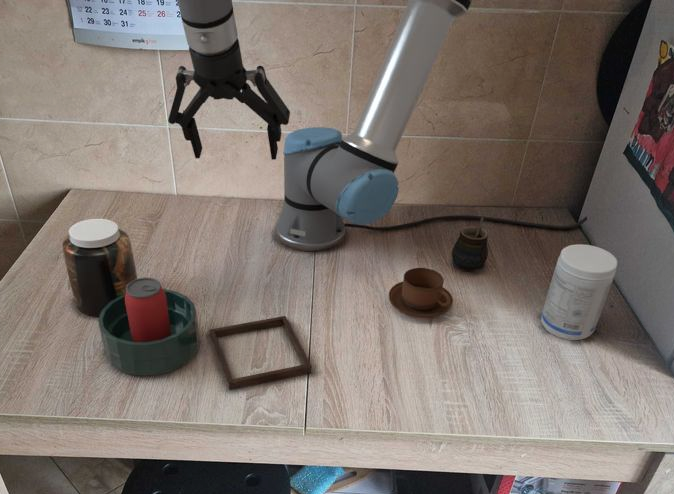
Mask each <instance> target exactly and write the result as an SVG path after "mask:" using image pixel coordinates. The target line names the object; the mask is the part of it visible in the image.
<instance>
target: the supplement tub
mask: <svg viewBox="0 0 674 494" xmlns="http://www.w3.org/2000/svg"><path fill="white" fill-rule="evenodd" d="M617 267H618V260H617V258H616V257H615V255H613V254H612V253H611V252H609V251H608V250H606V249H604V248H601V247H599V246H595V245H591V244H583V243H582V244H581V243H578V244H570V245H568V246H565V247H563V248H562V250H561V251H560V254H559V256H558V258H557V261H556V264H555V268H554V271H553V275H552V278H551V281H550V284H549V288H548V292H547V295H546V298H545V301H544V305H543V309H542V312H541V315H540V322H541V324H542V326H543V328H544V329H545V330H546V331H547V332H549V333H550V334H552V335H553V336H556V337H557V338H560V339H564V340H571V341H578V340H583V339H587V338H588V337H590V336H591V335H592V334H593V333H594V332H595V330H596V327H597V325H598V322H599V319H600V317H601V314H602V311H603V308H604V305H605V303H606V300H607V297H608V295H609V292H610V289H611V287H612V284H613V280H614V278H615V275H616V272H617Z"/></svg>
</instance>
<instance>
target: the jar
mask: <svg viewBox="0 0 674 494" xmlns="http://www.w3.org/2000/svg"><path fill="white" fill-rule="evenodd" d="M62 254H63V258H64V263H65V268H66V272H67V276H68V279H69V284H70V289H71V292H72V295H73V300H74V304H75V306H76V308H77V310H78V311H79V312H81V313H82V314H84V315H87V316H90V317H95V318H99V316H100V314H101V311H102V310H103V309H104V308H105V307H106V306H107V305H108V303H109V302H111V301H113V300H114V299H116V298H118V297H119V296H121V295H124V294H126V287H127V285H128V284H129V283H130V282H132V281H134V280H136V279H138V274H137V268H136V263H135V258H134V251H133V247H132V243H131V239H130V237H129V235H128V234H127V232H125V231H124V230H122V229H120V228H119V225H118V224H117V223H116V222H115V221H113V220H110V219H106V218H88V219H84V220H81V221H78V222H76V223H74V224H73V225H71V226H70V228H69V229H68V235H66V237H65V238H64V239H63V242H62Z"/></svg>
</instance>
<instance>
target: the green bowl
mask: <svg viewBox="0 0 674 494" xmlns="http://www.w3.org/2000/svg"><path fill="white" fill-rule="evenodd" d="M163 290H164V292H165V295H166V301H167V308H168V315H169V322H170V329H171V336H169V337H166V338H164V339H161V340H156V341H150V342H133V341H132V336H131V331H130V325H129V320H128V315H127V310H126V304H125V294H124V295H121V296H119V297H118V298H116V299H114V300H113V301H111V302H109V303H108V305H107V306H106V307H105V308H104V309H103V310H102V311H101V314H100V316H99V317H98V319H97V321H98V329H99V332H100V336H101V341H102V346H103V351H104V354H105V358H106V359H107V361H108V362H109V363H110V365H111V366H112V367H114V368H115V369H117V370H119V371H121V372H123V373H126V374H130V375H134V376H155V375H160V374H165V373H169V372H171V371H174V370H176V369H179V368H181V367H183V366H184V365H185V364H186V363H188V362H190V361H191V360H192V359H193V358H194V357H195V355H196V353H197V352H198V350H199V346H200V342H201V341H200V333H199V332H200V331H199V322H198V321H199V320H198V312H197V309H196V306H195V303H194V302H193V301H192V300H191V299H190V298H189V297H188V296H187V295H184V294H182V293H180V292H178V291H176V290H172V289H167V288H163Z"/></svg>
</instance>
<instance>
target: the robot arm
mask: <svg viewBox="0 0 674 494" xmlns="http://www.w3.org/2000/svg"><path fill="white" fill-rule="evenodd" d="M176 2H177V5H178V9H179V13H180V19H181V23H182V26H183V31H184V35H185V39H186V42H187V45H188V51H189V56H190V60H191V64H192V67H193V70H187V68H186V66H183V65H179V67H178V69H177V72H176V75H175V83H176V91H175V94H174V98H173V101H172V105H171V108H170V111H169V115H168V119H167V122H168V123H169V124H171V125H175V124H178V125H179V126H180V128H181V130H182V133H183V136H184V140H185V141H186V142H187V141H190V144H191V147H192V151H193V154H194V158H195V159H201V156H202V151H203V145H202V144H203V143H202V141H201V137H200V132H199V129H198V126H197V122H196V119H195V117H194V116H195V115H196V114H197V113H198V112H199V110H200V109H201V107H202V105H203V104H205V103H206V101H207V100H208V99H209V98H213V100H222V99H224V100H229V101H230V100H231V101H232V100H234V99H236V100H237V101H238V102H239V103H241V104H244V105H246V106H247V107H248V108H249V109H250V110H252V112H254V113H255V114H256V115H257V116H259V118H261V119H262V120H263V121H264V122H265V123H267V127H266V131H267V138H268V144H269V151H270V158H271V160H277V156H278V152H279V151H278V150H279V147H278V142H281V139H282V134H283V133H282V126H281V125H283V126H288V124H289V122H290V117H291V111H290V109H289V108H288V106H287V105H286V103H285V102H284V101H283V99H282V98H281V97H280V95H279V93H278V92H277V91H276V89H275V88H274V86H273V85H272V83H271V82H270V80H269V79H268V77H267V73H266V70H265V68H264V66H262V65H258V66H257V67H256V68H255V69H251V70H247V69H246V68H245V67H244V64H243V59H242V58H243V57H242V52H241V47H240V40H239V38H238V28H237V23H236V17H235V13H234V6H233V0H176ZM472 2H473V0H408V2H407V4H406V6H405V9H404V11H403V14H402V15H401V18H400V21H399V23H398V25H397V28H396V31H395V32H394V35H393V38H392V40H391V42H390V45H389V46H388V49H387V52H386V54H385V56H384V59H383V61H382V64H381V66H380V69H379V70H378V73H377V75H376V78H375V80H374V82H373V85H372V87H371V90H370V92H369V94H368V97H367V99H366V102H365V104H364V106H363V109H362V111H361V113H360V116H359V118H358V121H357V122H356V125H355V127H354V130H353V132H352V133H350V134H347V135H346V136H343V135H342V132H341V131H340V130H339V129H336V128H332V127H325V126H324V127H323V126H317V127H316V126H315V127H314V126H313V127H305V128H301V129H297V130H294V131H292V132H289V133H288V134H287V135H286V137H285V139H284V144H283V145H284V147H283V152H282V154H283V168H284V169H283V171H284V172H283V177H284V178H283V181H284V182H283V185H284V186H283V191H284V192H283V193H284V199H283V200H284V201H283V205H282V208H281V211H280V213H279V216H278V219H277V222H276V225H275V234H276V238H277V240H278V241H279V242H280V243H281V244H283V245H284V246H286V247H288V248H291V249H293V250H298V251H303V252H321V251H327V250H330V249H332V248H333V249H334V248H335V247H337V246H339V245H340V244H341V243H342V242H343V241H344V240H345V237H346V228H354V229H363V230H370V231H393V230H399V229H403V228H409V227H414V226H418V225H423V224H425V223H429V222H435V221H443V220H457V219H461V220H479V221H480V220H481V216H482V215H468V214H467V215H464V214H463V215H462V214H460V215H457V214H456V215H454V214H453V215H441V216H435V217H429V218H425V219H424V218H423V219H421V220H416V221H413V222H407V223H403V224H397V225H390V226H371V224H373V223H375V222H376V221H378V220H380V219H382V218H383V217H384V216H385V215H387V213H388V212H389V211H390V210H391V209H392V207H393V206H394V204H395V203H396V200H397V198H398V195H399V188H400V187H399V180H398V178H397V176H396V175H395V172H396V169H397V167H398V165H399V160H398V157H397V154H396V150H397V147H398V145H399V143H400V141H401V138H402V137H403V134H404V132H405V131H406V130H405V129H406V128H407V125H408V123H409V120H410V119H411V116H412V114H413V112H414V110H415V107H416V106H417V103H418V101H419V98H420V96H421V94H422V91H423V89H424V87H425V85H426V83H427V80H428V78H429V77H430V74H431V72H432V69H433V68H434V65H435V63H436V60H437V58H438V56H439V53H440V51H441V49H442V47H443V45H444V43H445V41H446V38H447V36H448V34H449V32H450V29H451V27H452V25H453V23H454V21H455V20H456V19H458V18H460V17H463V16H465V15H466V14H467V13H468V11H469V8H470V6H471V4H472ZM192 81H193V82H194V83H195V84H196V85H197V86H198V88H199V89H198V91H197V92H196V93H195V95H194V96H193V98H191V101H190V102H189V104H188V105H187V106H186V107H185V109H183V111H182V112H179V111H180V108H181V105H182V101H183V98H184V95H185V91H186V88H187V87H188V86H190V84H191V83H192ZM247 81H250V82H251V83H252V86H253V87H254V88H255V87H256V89H257V91H258V93H259V94H260V95H259V94H258V93H256V92H255V90H253V89H252V88H251V87H252V86H250V84H249V83H248V82H247ZM344 220H346V221H348V222H350V223H347V222H345V221H344ZM483 221H490V222H496V223H497V222H498V223H507V224H514V225H520V226H525V227H533V228H534V227H535V228H543V229H550V230H551V229H552V230H572V229H575V228H577V227H579V226H581V225H583V224H584V223H585V222H586V221H588V220H587V216H585V217H583V218H582V219H580V220H579V221H578V222H576V223H573V224H570V225H553V224H544V223H535V222H527V221H522V220H521V221H520V220H514V219H507V218H499V217H491V216H485V217H484V220H483Z"/></svg>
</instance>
